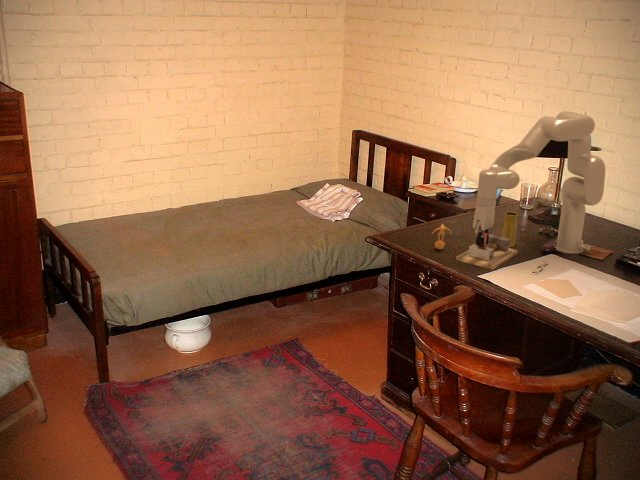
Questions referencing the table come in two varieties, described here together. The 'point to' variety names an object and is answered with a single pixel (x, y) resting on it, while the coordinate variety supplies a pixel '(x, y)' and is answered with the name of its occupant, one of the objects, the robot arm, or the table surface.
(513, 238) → the vase
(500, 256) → the nutcracker base
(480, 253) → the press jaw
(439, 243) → the figurine
